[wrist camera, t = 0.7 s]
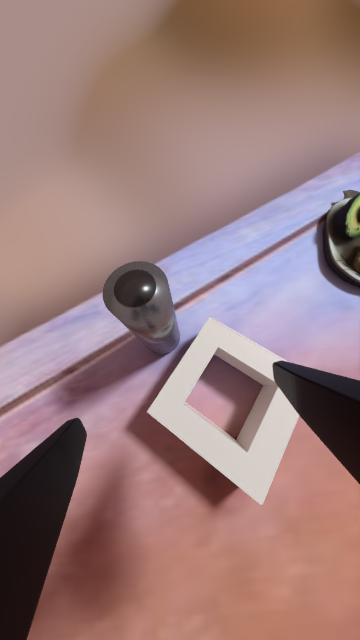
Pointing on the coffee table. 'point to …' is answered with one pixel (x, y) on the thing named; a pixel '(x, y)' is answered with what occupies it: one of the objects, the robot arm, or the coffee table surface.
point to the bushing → (143, 304)
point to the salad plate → (344, 237)
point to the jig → (260, 426)
